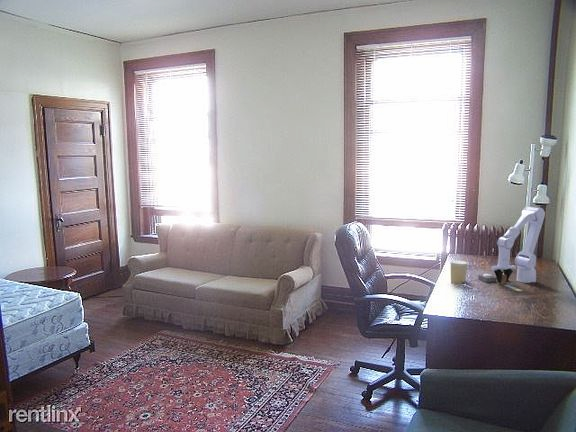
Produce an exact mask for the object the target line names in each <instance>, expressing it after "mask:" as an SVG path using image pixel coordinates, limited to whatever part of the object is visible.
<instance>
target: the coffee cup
mask: <svg viewBox="0 0 576 432" xmlns="http://www.w3.org/2000/svg"><path fill="white" fill-rule="evenodd" d="M449 264H450V283H451V284H455V285H465V284H466V278H467V272H468V262H467V261H465V260H464V261H463V260H457V259H456V260H451V261H450V263H449Z"/></svg>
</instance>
